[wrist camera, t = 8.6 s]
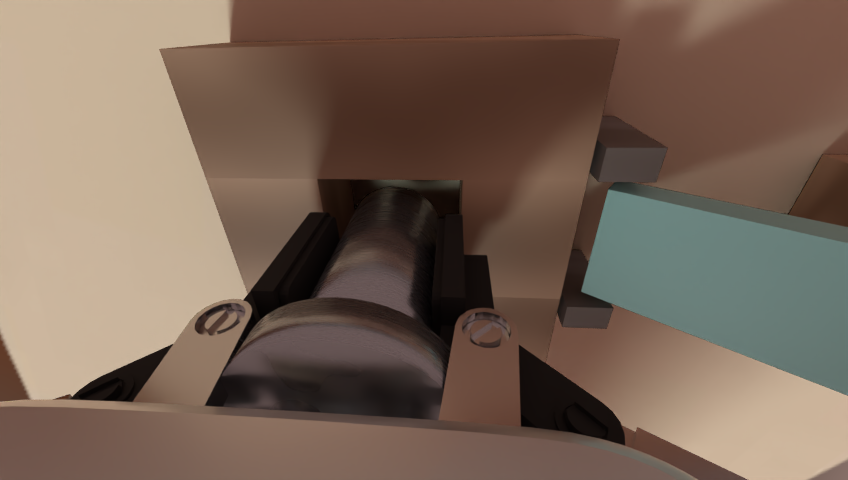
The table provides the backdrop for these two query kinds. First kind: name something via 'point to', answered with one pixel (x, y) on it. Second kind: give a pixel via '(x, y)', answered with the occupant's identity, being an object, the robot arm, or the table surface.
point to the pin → (355, 325)
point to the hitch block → (432, 149)
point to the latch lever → (728, 276)
